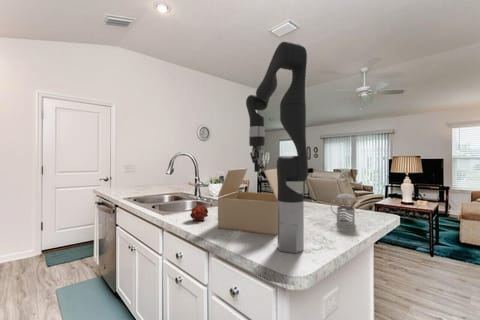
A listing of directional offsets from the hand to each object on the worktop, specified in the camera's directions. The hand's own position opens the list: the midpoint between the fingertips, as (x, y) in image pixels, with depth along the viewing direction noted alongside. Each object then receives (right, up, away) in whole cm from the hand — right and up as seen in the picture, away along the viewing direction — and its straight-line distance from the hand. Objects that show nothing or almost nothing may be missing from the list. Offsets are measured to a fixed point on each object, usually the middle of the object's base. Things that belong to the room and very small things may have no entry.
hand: (257, 171), depth 118 cm
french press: (+42, -26, -1) cm, 49 cm away
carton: (-1, -26, 0) cm, 26 cm away
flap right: (+9, -5, -5) cm, 11 cm away
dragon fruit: (-30, -26, +8) cm, 41 cm away
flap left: (-11, -5, +4) cm, 13 cm away
